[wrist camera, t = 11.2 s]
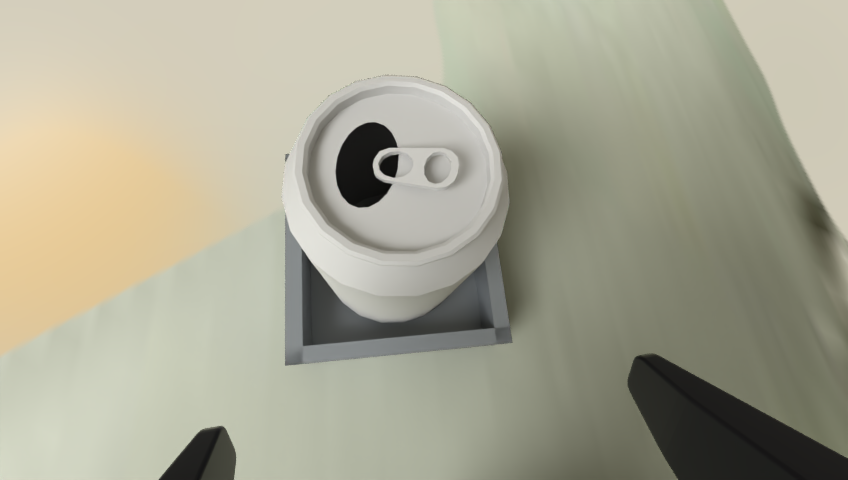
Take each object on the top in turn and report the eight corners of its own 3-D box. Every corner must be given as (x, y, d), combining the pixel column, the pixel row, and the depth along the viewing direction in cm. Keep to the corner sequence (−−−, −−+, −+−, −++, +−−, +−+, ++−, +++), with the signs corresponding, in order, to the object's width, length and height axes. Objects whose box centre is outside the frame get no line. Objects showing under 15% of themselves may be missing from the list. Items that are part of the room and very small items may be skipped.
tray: (496, 344, 22) (512, 342, 19) (298, 364, 21) (285, 365, 18) (471, 170, 25) (482, 146, 22) (297, 178, 24) (285, 154, 21)
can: (342, 189, 24) (302, 31, 12) (463, 211, 24) (535, 76, 13) (313, 313, 21) (231, 262, 10) (447, 334, 22) (518, 309, 10)
